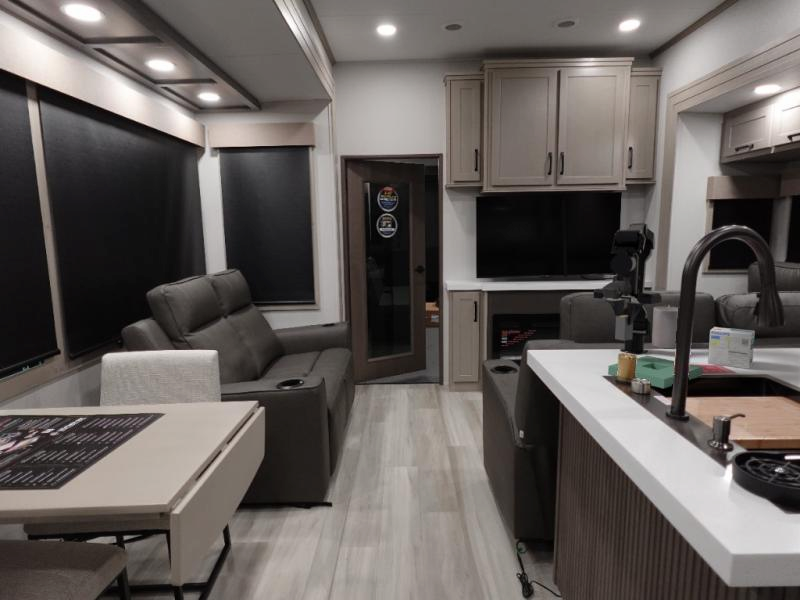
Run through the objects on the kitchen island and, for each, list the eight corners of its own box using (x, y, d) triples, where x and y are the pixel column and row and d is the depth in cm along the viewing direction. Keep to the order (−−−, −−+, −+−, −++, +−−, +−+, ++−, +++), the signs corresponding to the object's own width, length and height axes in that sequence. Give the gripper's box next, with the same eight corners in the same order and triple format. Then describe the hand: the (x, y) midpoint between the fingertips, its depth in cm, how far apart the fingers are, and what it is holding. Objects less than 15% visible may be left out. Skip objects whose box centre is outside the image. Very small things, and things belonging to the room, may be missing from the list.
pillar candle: (664, 341, 177) (665, 301, 175) (689, 347, 168) (691, 305, 166) (645, 344, 173) (647, 304, 171) (670, 350, 164) (672, 307, 162)
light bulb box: (752, 365, 144) (755, 330, 143) (749, 369, 139) (752, 333, 138) (711, 359, 151) (713, 326, 150) (707, 363, 147) (709, 329, 145)
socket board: (647, 363, 148) (647, 355, 147) (702, 375, 134) (702, 366, 134) (608, 374, 137) (608, 365, 137) (663, 388, 124) (664, 379, 123)
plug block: (623, 337, 146) (624, 314, 145) (632, 339, 143) (633, 315, 142) (615, 338, 144) (616, 315, 143) (624, 340, 141) (625, 317, 140)
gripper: (582, 272, 145) (580, 322, 146) (640, 275, 129) (637, 332, 131) (605, 270, 150) (603, 319, 152) (664, 273, 134) (660, 327, 136)
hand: (624, 324), depth 143 cm, fingers closed on plug block, 3 cm apart
